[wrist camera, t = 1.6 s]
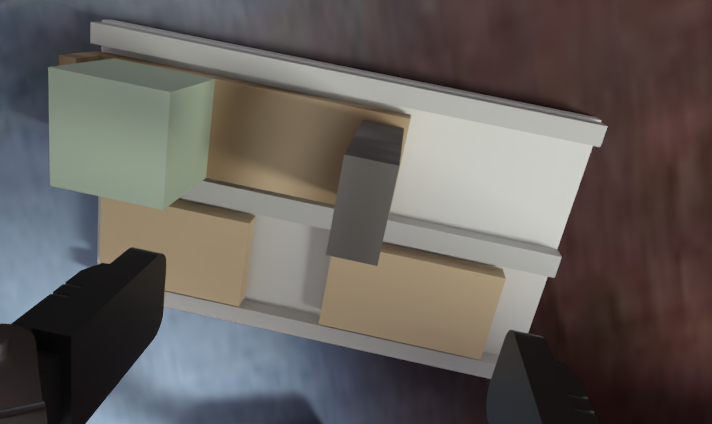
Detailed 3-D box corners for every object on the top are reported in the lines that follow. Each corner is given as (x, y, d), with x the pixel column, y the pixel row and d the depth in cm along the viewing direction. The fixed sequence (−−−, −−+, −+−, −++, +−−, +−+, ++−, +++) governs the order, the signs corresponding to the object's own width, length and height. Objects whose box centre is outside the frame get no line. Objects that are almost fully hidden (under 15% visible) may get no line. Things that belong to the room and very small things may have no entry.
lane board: (595, 117, 27) (612, 126, 25) (510, 365, 32) (517, 392, 30) (112, 19, 28) (84, 19, 26) (105, 275, 33) (82, 295, 31)
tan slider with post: (410, 114, 27) (407, 153, 19) (390, 208, 29) (380, 278, 21) (98, 50, 27) (-27, 63, 20) (96, 146, 29) (-19, 192, 21)
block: (215, 79, 26) (170, 92, 21) (206, 177, 28) (163, 210, 23) (114, 58, 26) (48, 66, 22) (111, 157, 28) (49, 185, 23)
